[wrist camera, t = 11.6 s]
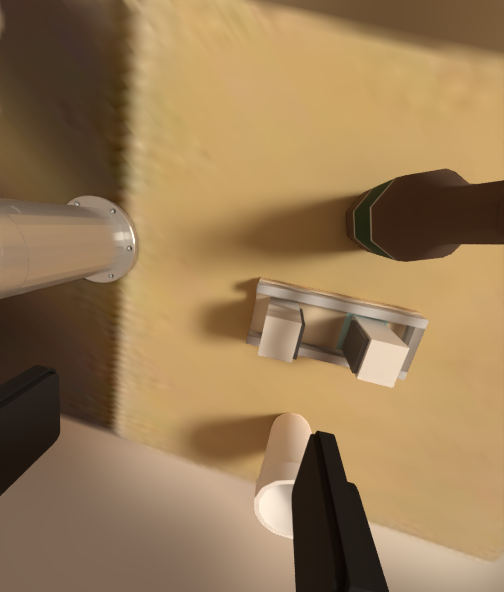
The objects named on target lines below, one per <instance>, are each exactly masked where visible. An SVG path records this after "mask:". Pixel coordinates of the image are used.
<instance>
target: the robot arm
mask: <svg viewBox="0 0 504 592" xmlns="http://www.w3.org/2000/svg"><path fill="white" fill-rule="evenodd" d="M137 253H138V239H137V235H136V231H135V228H134V226H133V224H132V222H131V220H130V219H129V217H128V215H127V214H126V213H125V212H124V211H123V210H122V209H121V208H120V207H119V206H118V205H116V204H115V203H113V202H112V201H110V200H108V199H105V198H102V197H97V196H81V197H77V198H75V199H73V200H71V201H70V202H68V203H67V204H66V205H64V204H54V203H44V202H34V201H24V200H14V199H4V198H0V299H2V298H6V297H10V296H14V295H18V294H22V293H26V292H30V291H34V290H38V289H42V288H46V287H50V286H54V285H58V284H62V283H66V282H70V281H74V280H77V279H81V278H85V279H87V280H90V281H93V282H99V283H106V282H111V281H115V280H118V279H120V278H122V277H123V276H125V275H126V274H127V273H128V272H129V271H130V270H131V269H132V267H133V265H134V263H135V261H136V258H137ZM59 434H60V401H59V375H58V374H56V370H55V369H53V368H49V367H45V366H40V365H35V366H33V367H31V368H29V369H28V370H26V371H24V372H23V373H21V374H19V375H17V376H16V377H14V378H12V379H11V380H9V381H7V382H5V383H4V384H2V385H0V496H1V495H2V493H4V492H5V491H6V490H7V489H8V488H9V487H10V486H11V485H12V484H13V483H14V482H15V481H16V480H17V479H18V478H19V477H20V476H21V475H22V474H23V473H24V472H25V471H26V470H27V469H28V468H29V467H30V466H31V465H32V464H33V463H34V462H35V461H36V460H37V459H38V458H39V457H40V456H41V455H43V453H45V452H46V451H47V450H48V449H49V448H50V447H51V446H52V445H53V444H54V443H55V441H56V440H57V439H58V437H59ZM291 505H292V525H293V544H294V561H295V562H294V564H295V583H296V592H389V590H388V587H387V583H386V580H385V577H384V574H383V570H382V567H381V564H380V560H379V557H378V554H377V551H376V547H375V544H374V541H373V538H372V534H371V531H370V528H369V524H368V521H367V518H366V515H365V511H364V508H363V505H362V501H361V498H360V495H359V492H358V489H357V487H356V486H355V484H353V483H350V482H347V479H346V475H345V471H344V468H343V464H342V460H341V457H340V453H339V449H338V446H337V442H336V438H335V436H334V435H333V434H330V433H326V432H321V431H317V432H316V433H315V434H311V435H310V437H309V440H308V443H307V446H306V449H305V452H304V455H303V458H302V461H301V464H300V467H299V470H298V473H297V476H296V479H295V483H294V486H293V489H292V495H291Z"/></svg>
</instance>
